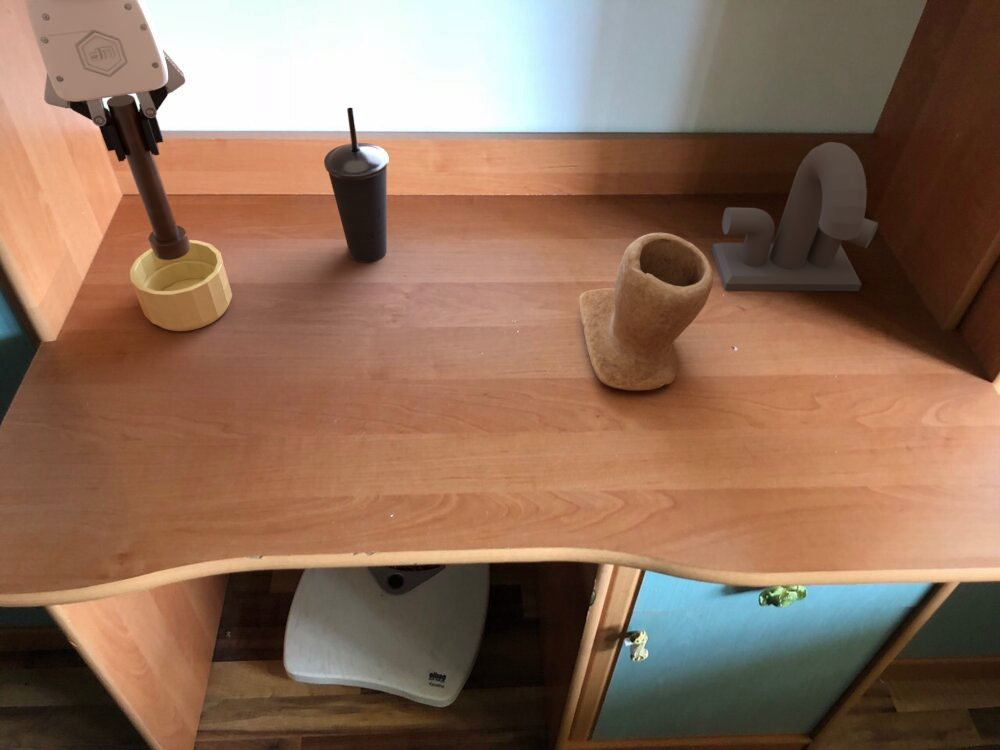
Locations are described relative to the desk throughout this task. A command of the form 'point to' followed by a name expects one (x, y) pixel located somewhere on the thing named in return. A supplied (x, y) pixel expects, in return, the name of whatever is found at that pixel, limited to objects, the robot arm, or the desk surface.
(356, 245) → the drinking cup
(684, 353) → the desk surface
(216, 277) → the bowl
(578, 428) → the desk surface
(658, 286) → the stone cup
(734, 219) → the faucet
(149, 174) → the stirrer
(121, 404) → the desk surface
